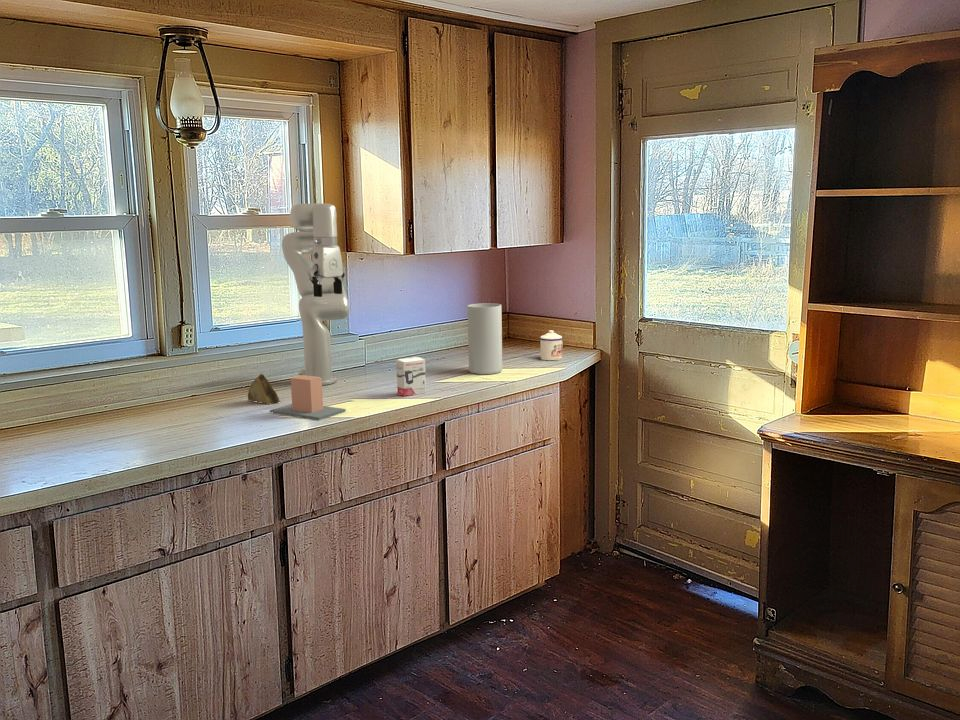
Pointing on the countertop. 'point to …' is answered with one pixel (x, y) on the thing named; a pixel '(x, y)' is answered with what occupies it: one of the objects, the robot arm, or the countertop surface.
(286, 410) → the mat
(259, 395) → the rock
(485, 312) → the cylinder vase
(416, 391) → the ink box
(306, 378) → the terracotta block
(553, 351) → the teacup with lid
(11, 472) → the countertop surface
